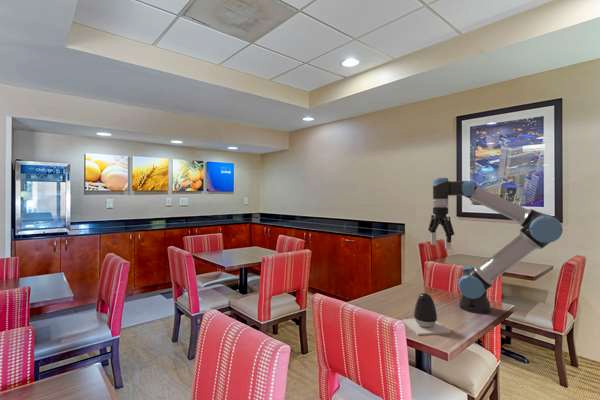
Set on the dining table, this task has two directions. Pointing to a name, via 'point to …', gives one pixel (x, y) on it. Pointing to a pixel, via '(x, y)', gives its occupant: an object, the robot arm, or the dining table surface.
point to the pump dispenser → (425, 311)
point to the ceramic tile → (425, 328)
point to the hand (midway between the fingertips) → (440, 246)
